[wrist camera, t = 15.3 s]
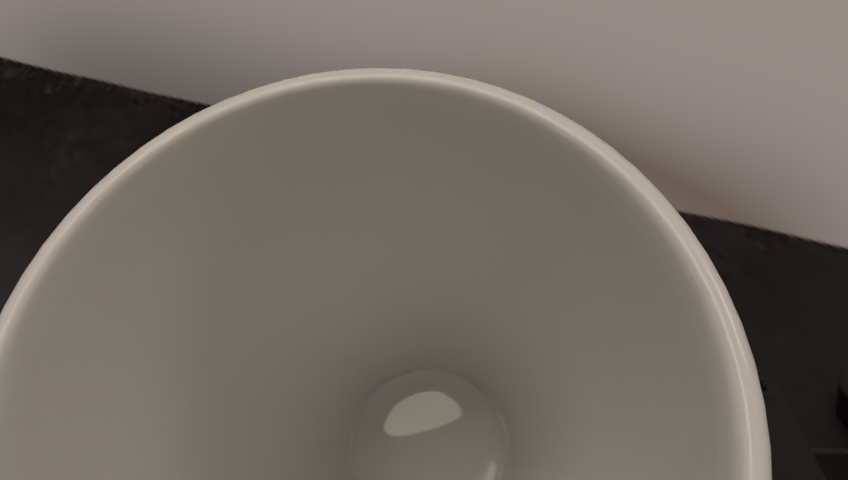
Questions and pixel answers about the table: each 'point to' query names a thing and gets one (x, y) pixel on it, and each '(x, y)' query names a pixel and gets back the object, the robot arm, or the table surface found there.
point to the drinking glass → (376, 303)
